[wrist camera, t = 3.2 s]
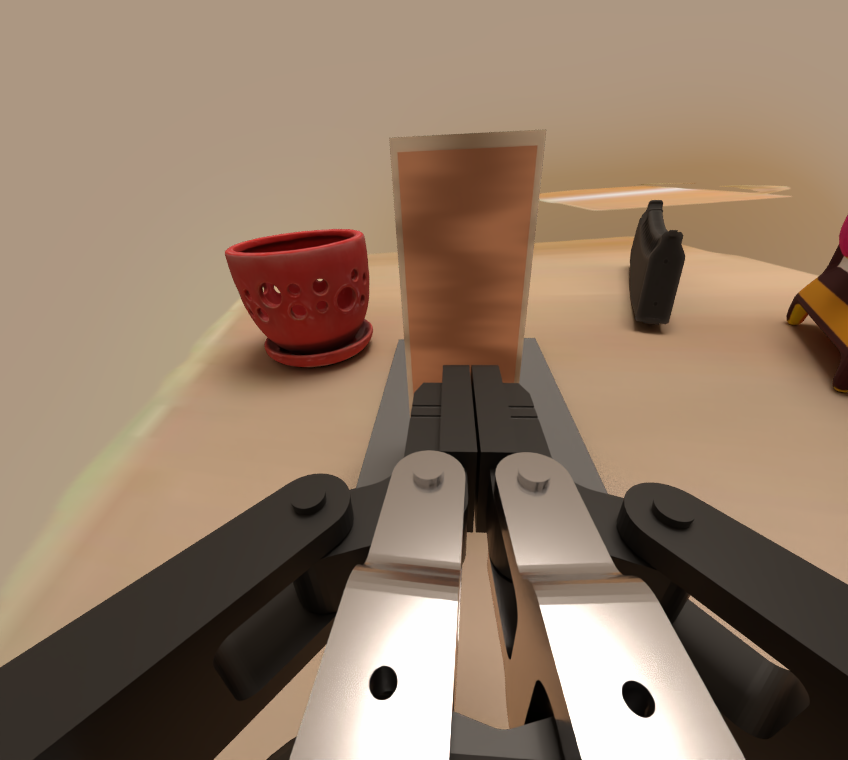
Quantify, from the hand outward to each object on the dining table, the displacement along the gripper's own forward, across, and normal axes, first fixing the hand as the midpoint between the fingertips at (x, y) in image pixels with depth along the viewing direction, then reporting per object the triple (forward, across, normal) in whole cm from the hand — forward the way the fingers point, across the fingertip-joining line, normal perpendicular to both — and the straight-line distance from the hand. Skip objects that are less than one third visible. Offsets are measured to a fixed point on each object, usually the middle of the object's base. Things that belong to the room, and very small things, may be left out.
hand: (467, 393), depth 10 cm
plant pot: (+28, +15, +12) cm, 34 cm away
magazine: (+46, -27, +12) cm, 55 cm away
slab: (+10, 0, +11) cm, 15 cm away
